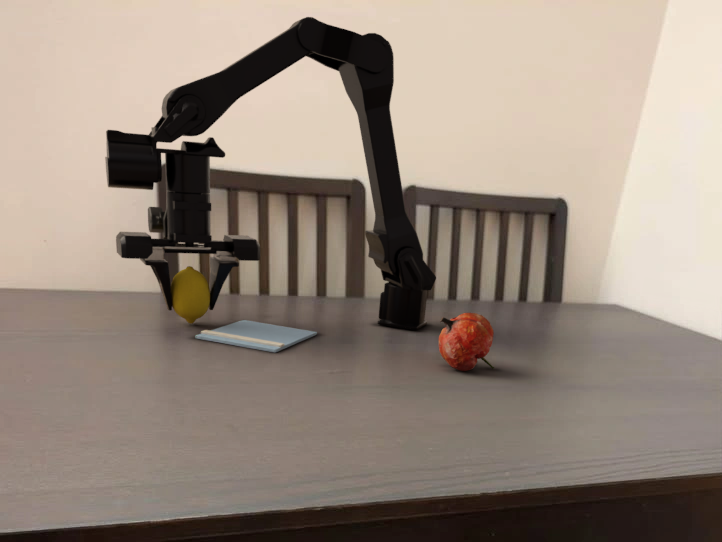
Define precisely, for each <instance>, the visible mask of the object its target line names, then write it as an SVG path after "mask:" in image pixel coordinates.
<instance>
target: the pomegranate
mask: <svg viewBox="0 0 722 542" xmlns="http://www.w3.org/2000/svg"><path fill="white" fill-rule="evenodd" d="M439 323H443V324H444V325H445V327H443V328H442V330H441V331H440V334H439V335H438V349H439V354H440V356H441V357H442V358H443V360H444V361H445V362H446V363H447V365H449V366H450V367H451V368H453V369H456V370H458V371H462V372H467V371H470V370H473V369H474V368H475V366H477V364H478V360H479V359H481V361H483V362H484V364H486V365H488V366H489V367H490V369H492V370H494V369H495V366H493V365H492V364H491V363H490V362H489V361H488V360H487V359H486V358H485V357H486V356H487V355H488V354H489V352H490V350H491V347H492V345H493V342H494V333H495V332H494V329H493V327H492V325H491V322H490V321H489V319H487V317H485V316H484V315H482V314H478V313H476V312H463V313H461V314H459V315H458V316H454V317H452V318H450V319H448V318H446V317H444V316H443V317H442V318H441V319H440V321H439Z"/></svg>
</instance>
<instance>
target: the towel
mask: <svg viewBox="0 0 722 542" xmlns="http://www.w3.org/2000/svg"><path fill="white" fill-rule="evenodd" d="M316 335H318V332H317V331H313V330H307V329H301V328H295V327H289V326H282V325H278V324H271V323H266V322H260V321H254V320H248V319H242V320H239V321H235V322H233V323H230V324H226V325H222V326H220V327H217V328H213V329H211V330H208V329H204V330H201V331H200V333H199V334H198V333H197V334H196V335H194V338H195V339H196V340H202V341H208V342H214V343H220V344H226V345H231V346H235V347H241V348H248V349H252V350H258V351H264V352H270V353H274V354H275V353H278V352H280V351H282V350H285V349H287V348H289V347H291V346H294V345H296V344H299V343H300V342H304V341H305V340H307V339H310V338H313V337H314V336H316Z"/></svg>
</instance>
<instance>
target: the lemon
mask: <svg viewBox="0 0 722 542" xmlns="http://www.w3.org/2000/svg"><path fill="white" fill-rule="evenodd" d="M170 284H171V294H172V310H173V311H174V312H175V313H176V314H177V316H179V317H180V318H182V319H184V320H185V321H186V322H187V323H188V324H194V323H195V322H196V321H197V320H198V319H201V318H202V317H204V316H205V315H206V313H207V312H208V310H209V304H210V289H209V282H208V279H207V278H206V276H205V275H204V274H202V272H200V271H199V270H197V269H195V268H194V267H193V266H191V265H188V266H186V267H185V268H183V269H181V270H180V271H178V272H177V273H176V274H174V276H173V278H172V281H171V282H170Z"/></svg>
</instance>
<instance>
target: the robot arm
mask: <svg viewBox="0 0 722 542" xmlns="http://www.w3.org/2000/svg"><path fill="white" fill-rule="evenodd" d="M305 57H307V58H309V59H311V60H313V61H315V62H317V63H319V64H320V65H322V66H324V67H326V68H328V69H331V70H334V71H336V72H339V75H340V78H341V81H342V85H343V87H344V91H345V92H346V95H347V96H348V98H349V101H350V102H351V105H352V106H353V108H354V110H355V112H356V115H357V119H358V120H357V121H358V125H359V130H360V137H361V141H362V147H363V154H364V158H365V159H364V160H365V164H366V165H365V166H366V170H367V177H368V181H369V187H370V193H371V198H372V203H373V210H374V222H373V223H374V224H373V227H372V229H367V230H365V231H364V235H365V238H366V241H367V245H368V255H367V257H368V258H370V259H372V260H373V262H374V264H375V266H376V267H377V268H378V269H380V272H381V277H382V280H383V281H384V282H385V283H384V285H383V286H384V287H383V291H382V292H381V293H380V297H379V307H378V319H379V320H377V323H376V324H377V325H381V326H386V327H393V328H398V329H405V330H412V331H417V330H419V329H421V328H422V327H424V326H426V325H428V320H425V318H426V310H427V302H428V301H427V300H428V292H429V291H432V289H433V288H434V285H435V282H436V280H437V276H436V275H435V274H434V272H433V271H432V269H431V268H430V267H429V265H428V264H427V263H426V261H425V260H424V251H423V248H422V245H421V242H420V239H419V236H418V233H417V231H416V229H415V227H414V225H413V223H412V221H411V220H410V218H409V216H408V213H407V211H406V204H405V198H404V191H403V186H402V178H401V172H400V166H399V160H398V152H397V148H396V141H395V134H394V128H393V122H392V121H393V120H392V115H391V100H392V94H393V88H394V82H395V78H394V77H395V76H394V75H395V70H394V69H395V67H394V66H395V65H394V61H395V59H394V51H393V48H392V45H391V43H390V41H389V40H387V39H386V38H385V37H383V36H382V35H381V34H379V33H376V32H368V33H365V34H360V33H358V32H355V31H352V30H349V29H346V28H343V27H342V28H341V27H340V26H339V27H338V26H334V25H332V24H328V23H325V22H323V21H321V20H318V19H317V18H315V17H313V16H306V17H303V18H301V19H299V20H297V21H295V22H293V23H292V24H291V25H290V27H289V28H287V29H286V30H285V31H283V32H281V33H279V34H278V35H276V36H274V37H273V38H271V39H270V40H268V41H267V42H265V43H264V44H262V45H260V46H259V47H257V48H256V49H254V50H252V51H251V52H249V53H247V54H246V55H244V56H243V57H240V58H239V59H238V60H237V61H235V62H233V63H231V64H230V65H229V66H227V67H225V68H223V69H222V70H220V71H219V72H215V73H214V74H211V75H207V76H205V77H202V78H199V79H196V80H194V81H192V82H189V83H186V84H182V85H180V86H177V87H175V88H173V89H171V90H169V92H167V93H166V94H165V96H164V97H163V99H162V102H161V103H162V104H161V116H160V118H159V119H158V121H157V122H156V124H154V126H152V127H151V130H150V132H149V133H148V134H144V133H130V132H123V131H120V130H117V129H107V130H106V131H105V136H106V137H105V138H106V143H105V144H106V156H105V157H104V160H105V173H106V183H107V188H112V189H129V190H131V189H132V190H146V191H147V190H148V191H153V190H154V185H155V184H158V183H162V178H163V165H162V164H163V163H162V162H163V161H162V154H164V160H165V162H164V164H165V190H166V191H165V192H166V193H165V195H166V198H165V199H166V202H165V211H164V209H163V207H161V206H148V208H147V224H148V225H147V226H148V232H149V233H154V234H156V233H158V234H162V238H152V236H151V235H150V234H148V233H147V232H145V231H143V232H142V231H119V232H118V233H117V235H116V236H115V245H116V248H115V249H116V254H118V256H119V257H121V259H133V260H134V259H137V260H140V261H141V262H142V263H143V264H144V265H145V266H149V267H150V268H151V270H152V272H153V275H154V276H155V278H156V281H157V282H158V283H157V284H158V286H159V288H160V291H161V294H162V297H163V300H164V302H165V306H166V308H167V310H168V312H169V311H171V312H172V311H173V307H172V294H171V278H170V275H171V274H170V267H169V265H170V264H169V262H168V260H166V258H165V254H199V255H200V254H201V255H203V254H204V255H213V256H209V257H208V258H209V282H208V285H209V289H210V304H209V307H208V310H209V311H213V310H214V309H215V306H216V303H217V301H218V298H219V296H220V293H221V291H222V288H223V286H224V284H225V282H226V280H227V278H228V276H229V275H230V274H231V273H230V272H231V271H232V269H233V268H238V267H239V266H240V262H239V261H241V262H243V261H245V262H246V261H247V262H248V261H249V262H251V261H253V262H257V261H261V245H260V243H259V241H258V240H257V239H256V238H253V237H251V236H249V235H238V234H224V235H223V238H222V240H213V239H212V238H213V237H212V235H211V212H212V202H211V158H225V157H226V152H225V151H224V150H223V149H222V148H221V147H220V146H219V145H218V143H217V142H216V140H215V138H214V137H211V136H209V137H207V138H206V140H205V141H204V142H199V141H187V140H182V142H181V143H180V149H172V148H162V147H161V148H160V147H157V146H158V145H157V144H158V143H168V144H172V143H173V142H175V141H176V140H178V139H180V138H181V137H182V136H183V137H197V136H199V135H200V136H201V135H202V134H204V133H205V132H206V131H208V129H210V128H211V127H212V126H213V125H214V124H215V123H216V122H217V121H218V120H219V119H220V118H222V116H223V115H224V114H225V113H226V112H227V111H228V110H229V109H230V108H231V107H232V105H234V104H235V103H236V102H237V101H238V100H239V99H240V98H242V97H243V96H245V95H246V94H248V93H250V92H251V91H253V90H254V89H256V88H258V87H259V86H261V85H262V84H264V83H265V82H267V81H269V80H270V79H272V78H273V77H275V76H277V75H278V74H280V73H281V72H283V71H285V70H287V69H288V68H289V67H291V66H293V65H294V64H296V63H298V62H300V60H302V59H303V58H305ZM237 260H238V261H237Z"/></svg>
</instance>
